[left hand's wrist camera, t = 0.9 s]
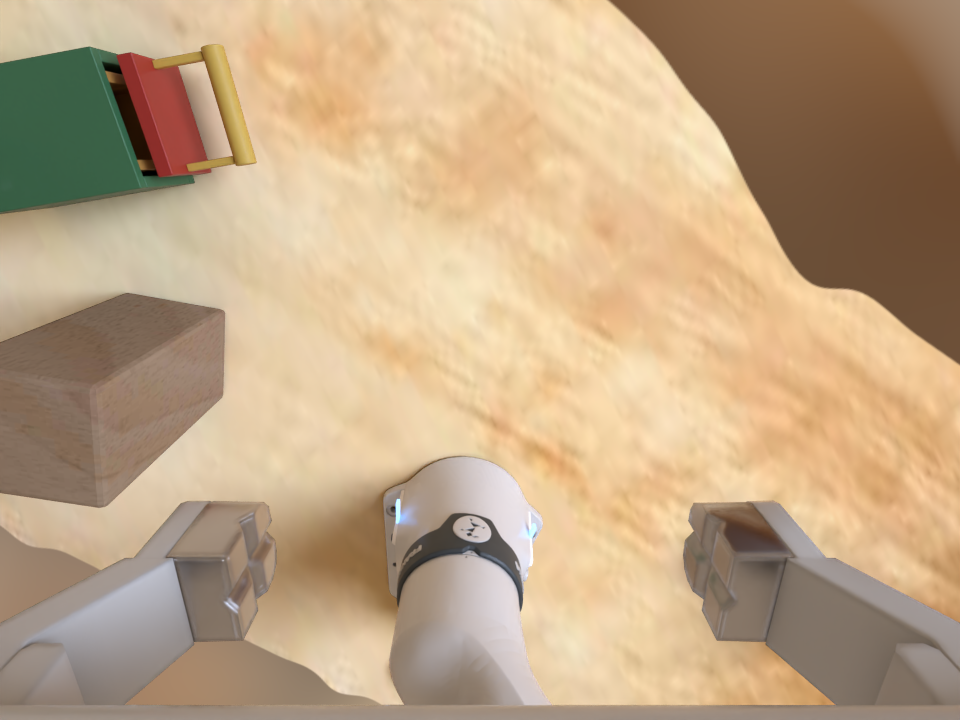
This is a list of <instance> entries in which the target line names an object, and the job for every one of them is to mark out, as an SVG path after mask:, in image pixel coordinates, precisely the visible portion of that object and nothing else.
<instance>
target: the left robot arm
mask: <svg viewBox="0 0 960 720" xmlns="http://www.w3.org/2000/svg"><path fill="white" fill-rule="evenodd" d="M393 506H394V507H396V509H393V508H392V507H393ZM383 508H384V522H385V537H386V551H387V566H388V581H389V591H390V593H391V595H393V596H394V597H395V598H397V604H398V613H397V619H396V624H395V630H394V635H393V641H392V646H391V652H390V672H391V677H392V680H393V683H394V686H395V688H396V690H397V692H398V694H399V696H400V698H401V700H402V702H403V703H404V705H125V704H126V703H127V702H128V701H129V700H130V699H131V698H133V697H134V696H135V695H136V694H137V693H138V692H140V691H141V690H142V689H143V688H144V687H145V686H147V685H148V684H149V683H150V682H151V681H152V680H154V679H155V678H156V677H157V676H158V675H159V674H160V673H162V672H163V671H164V670H165V669H166V668H168V667H169V666H170V665H171V664H172V663H173V662H175V661H176V660H177V659H178V658H179V657H180V656H182V655H183V654H184V653H185V652H186V651H187V650H189V649H190V648H191V647H192V646H193V645H194V642H208V641H242V640H244V638H245V636H246V634H247V632H248V630H249V628H250V626H251V624H252V622H253V620H254V618H255V615H256V613H257V611H258V607H257V601H256V599H257V598H259V597H260V596H261V595H263V594H264V593H266V592H267V591H268V589H269V586H270V584H271V582H272V580H273V576H274V572H275V567H276V544H275V540H274V539H273V538H272V537H271V536H270V535H269V534H268V533H267V532H266V530H267V528H268V526H269V525H270V523H271V521H272V520H271V515H270V510H269V506H268V505H267V504H266V503H264V502H232V501H213V502H211V501H187V502H184V503H181V504H180V505H179V506H178V507H177V508H176V509H175V511H174V512H173V513H172V514H171V515H170V516H169V518H168V519H167V520H166V521H165V522H164V523H163V525H162V526H161V527H160V528H159V529H158V530H157V531H156V533H155V534H154V535H153V536H152V537H151V538H150V540H149V541H148V542H147V543H146V544H145V545H144V547H143V548H142V549H141V550H140V551H139V552H138V553H137V555H136V556H135V557H134V558H124V559H122V560H120V561H118V562H116V563H115V564H113V565H111V566H109V567H107V568H105V569H103V570H101V571H99V572H97V573H95V574H93V575H92V576H90V577H88V578H86V579H84V580H82V581H80V582H78V583H76V584H74V585H72V586H70V587H68V588H66V589H64V590H63V591H61V592H59V593H57V594H55V595H53V596H51V597H49V598H47V599H45V600H43V601H41V602H40V603H38V604H36V605H34V606H32V607H30V608H28V609H26V610H24V611H22V612H20V613H18V614H16V615H14V616H13V617H11V618H9V619H7V620H5V621H3V622H1V623H0V720H960V623H959V622H957V621H955V620H953V619H951V618H949V617H947V616H945V615H943V614H941V613H939V612H938V611H936V610H934V609H932V608H930V607H928V606H926V605H924V604H922V603H920V602H918V601H916V600H915V599H913V598H911V597H909V596H907V595H905V594H903V593H901V592H899V591H897V590H895V589H893V588H891V587H890V586H888V585H886V584H884V583H882V582H880V581H878V580H876V579H874V578H872V577H870V576H868V575H867V574H865V573H863V572H861V571H859V570H857V569H855V568H853V567H851V566H849V565H847V564H845V563H843V562H842V561H840V560H838V559H836V558H826V557H825V556H824V555H823V554H822V552H821V551H820V550H819V549H818V548H817V547H816V545H815V544H814V543H813V542H812V541H811V540H810V538H809V537H808V536H807V535H806V534H805V533H804V532H803V530H802V529H801V528H800V527H799V526H798V525H797V523H796V522H795V521H794V520H793V519H792V518H791V516H790V515H789V514H788V513H787V512H786V511H785V510H784V508H783V507H782V506H781V505H780V504H779V503H777V502H775V501H747V502H721V503H693V505H692V507H691V509H690V514H689V520H688V521H689V523H690V525H691V526H692V528H693V530H694V532H693V533H692V534H691V535H690V536H689V537H688V538H687V539H686V540H685V545H684V553H683V557H684V569H685V573H686V576H687V580H688V582H689V584H690V586H691V589H692V591H693V592H694V593H696V594H697V595H699V596H700V597H701V598H703V599H704V601H703V607H702V611H703V613H704V615H705V618H706V620H707V622H708V624H709V626H710V628H711V630H712V632H713V634H714V636H715V638H716V640H717V641H751V642H766V645H767V646H768V647H769V648H771V649H772V650H773V651H774V652H775V653H776V654H778V655H779V656H780V657H781V658H782V659H783V660H784V661H786V662H787V663H788V664H789V665H790V666H791V667H793V668H794V669H795V670H796V671H797V672H798V673H800V674H801V675H802V676H803V677H804V678H805V679H807V680H808V681H809V682H810V683H811V684H812V685H814V686H815V687H816V688H817V689H818V690H819V691H820V692H822V693H823V694H824V695H825V696H826V697H827V698H829V699H830V700H831V701H832V702H833V703H834V704H836V705H552V704H551V703H550V701H549V700H548V699H547V697H546V696H545V694H544V692H543V691H542V689H541V688H540V686H539V684H538V682H537V680H536V678H535V677H534V674H533V672H532V670H531V667H530V664H529V661H528V657H527V652H526V647H525V642H524V636H523V630H522V624H521V616H520V611H521V609H522V603H523V592H524V586H523V581H524V582H525V581H526V579H527V577H528V567H530V566H532V563H533V549H532V545H533V543H534V541H535V540H536V538H537V536H538V534H539V532H540V531H541V529H542V525H543V523H542V516H541V515H540V514H539V513H538V512H537V511H536V510H535V509H534V508H533V507H532V506H531V505H529V504H528V503H527V501H526V499H525V498H524V495H523V493H522V491H521V489H520V487H519V485H518V484H517V482H516V481H515V479H514V478H513V477H512V476H511V475H510V474H509V473H508V472H507V471H505V470H504V469H502V468H501V467H499V466H498V465H496V464H494V463H492V462H489V461H486V460H483V459H479V458H474V457H452V458H446V459H443V460H439V461H437V462H434V463H432V464H430V465H428V466H427V467H425V468H424V469H422V470H421V471H420V472H418V473H417V474H416V475H415V476H414V477H413V478H412V479H410V480H409V481H408V482H406V483H403V484H400V485H397V486H395V487H392V488H390V489H388V490H387V491H386V492H385V493H384V498H383Z"/></svg>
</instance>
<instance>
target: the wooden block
mask: <svg viewBox="0 0 960 720" xmlns="http://www.w3.org/2000/svg"><path fill="white" fill-rule="evenodd" d="M224 333H225V312H224V311H223V310H220V309H215V308H209V307H204V306H198V305H192V304H187V303H181V302H175V301H170V300H164V299H158V298H153V297H147V296H141V295H136V294H130V293H126V294H123V295H120V296H118V297H115V298H113V299H110V300H108V301H105V302H102V303H100V304H97V305H95V306H92V307H90V308H87V309H85V310H82V311H79V312H77V313H74V314H72V315H69V316H67V317H64V318H62V319H59V320H56V321H54V322H51V323H49V324H46V325H44V326H41V327H39V328H36V329H33V330H31V331H28V332H26V333H23V334H21V335H18V336H16V337H13V338H11V339H8V340H5V341H3V342H0V493H4V494H11V495H18V496H24V497H31V498H38V499H44V500H51V501H58V502H64V503H71V504H77V505H84V506H91V507H97V508H101V507H105V506H107V505H108V504H109V503H110V502H112V501H113V500H114V499H115V498H116V497H117V496H118V495H119V494H120V493H121V492H122V491H123V490H124V489H125V488H126V487H127V486H128V485H130V484H131V483H132V482H133V481H134V480H135V479H136V478H137V477H138V476H139V475H140V474H141V473H142V472H143V471H144V470H145V469H147V468H148V467H149V466H150V465H151V464H152V463H153V462H154V461H155V460H156V459H157V458H158V457H159V456H160V455H161V454H162V453H164V452H165V451H166V450H167V449H168V448H169V447H170V446H171V445H172V444H173V443H174V442H175V441H176V440H177V439H178V438H179V437H180V436H182V435H183V434H184V433H185V432H186V431H187V430H188V429H189V428H190V427H191V426H192V425H193V424H194V423H195V422H196V421H197V420H199V419H200V418H201V417H202V416H203V415H204V414H205V413H206V412H207V411H208V410H209V409H210V408H211V407H212V406H213V405H214V404H216V403H217V402H218V401H219V400H220V399H221V398H222V396H223V377H224Z"/></svg>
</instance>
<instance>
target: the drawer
mask: <svg viewBox="0 0 960 720" xmlns="http://www.w3.org/2000/svg"><path fill="white" fill-rule="evenodd" d="M201 51H202V52H201ZM201 51H200V52H194V53H189V54H183V55H178V56H173V57H167V58H162V59H157V60H155V59H151V58H148V57H145V56H141V55H138V54H134V53H131V52H130V53H125V54H119V55H116V57H117V59H118V62H119V65H120V68H121V71H122V74H123V75H122V74H117V73H113V72H108V71H105V72H106V75H107V78H108V80H109V83H110V86H111V89H112V92H113V94H114V97H115V100H116V103H117V105H118V108H119V111H120V114H121V117H122V119H123V122H124V125H125V128H126V130H127V133H128V136H129V139H130V142H131V144H132V147H133V150H134V153H135V155H136V158H137V161H138V164H139V167H140V169H141V172H142V175H145V174H150V173H156V172H157V174H158V176H159V177H171V176H185V175H199V174H205V173H211V169H210V168H215V167H221V166H227V165H232V164H236V166H243V165H249V164H255V163H257V162H256V158H255V155H254V151H253V148H252V144H251V141H250V137H249V134H248V130H247V127H246V123H245V120H244V116H243V113H242V109H241V106H240V102H239V99H238V95H237V92H236V88H235V85H234V81H233V78H232V74H231V71H230V67H229V64H228V60H227V57H226V53H225V50H224V47H223V46H222V45H217V44H213V45H206V46H203V47H201ZM202 61H205V64H206V68H207V71H208V74H209V78H210V81H211V84H212V88H213V91H214V94H215V98H216V101H217V104H218V108H219V111H220V114H221V118H222V121H223V124H224V128H225V131H226V134H227V138H228V141H229V144H230V148H231V151H232V154H233V156H231V157H225V158H219V159H214V160H207V156H206V153H205V150H204V147H203V144H202V141H201V138H200V134H199V131H198V128H197V125H196V122H195V119H194V115H193V112H192V109H191V106H190V103H189V100H188V96H187V93H186V90H185V87H184V84H183V81H182V78H181V74H180V71H179V68H178V66H181V65H186V64H191V63H197V62H202Z"/></svg>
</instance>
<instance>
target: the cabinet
mask: <svg viewBox="0 0 960 720" xmlns="http://www.w3.org/2000/svg"><path fill="white" fill-rule="evenodd" d="M116 55H118V54H115V53H111V52H107V51H104V50H100V49H96V48H93V47H84V48H79V49H74V50H68V51H63V52H58V53H53V54H47V55H42V56H37V57H31V58H26V59H21V60H15V61H10V62H5V63H0V214H4V213H12V212H20V211H28V210H36V209H44V208H52V207H58V206H64V205H69V204H75V203H81V202H87V201H93V200H98V199H104V198H110V197H116V196H122V195H127V194H133V193H139V192H145V191H151V190H156V189H162V188H168V187H174V186H180V185H186V184H191V183H195V182H194V179H193V176H192V175H185V176H171V177H159V176H158V174H157V172H156V173H150V174H145V175H142V172H141V169H140V167H139V164H138V161H137V158H136V155H135V153H134V150H133V147H132V144H131V142H130V139H129V136H128V133H127V130H126V128H125V125H124V122H123V119H122V117H121V114H120V111H119V108H118V105H117V103H116V100H115V97H114V94H113V92H112V89H111V86H110V83H109V80H108V78H107V75H106V72H105V71H108V72H113V73H117V74H122V71H121V68H120V65H119V62H118V59H117V57H116ZM122 75H123V74H122Z"/></svg>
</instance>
